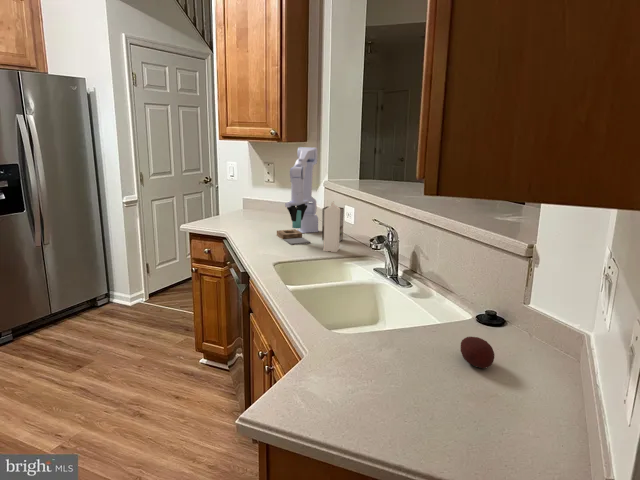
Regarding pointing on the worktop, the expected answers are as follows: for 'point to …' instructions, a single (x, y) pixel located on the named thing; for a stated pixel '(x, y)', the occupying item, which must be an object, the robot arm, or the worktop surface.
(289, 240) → the mat
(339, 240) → the coffee box
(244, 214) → the worktop surface
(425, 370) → the worktop surface
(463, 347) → the potato
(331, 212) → the milk
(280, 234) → the socket block
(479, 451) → the worktop surface
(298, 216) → the plug
